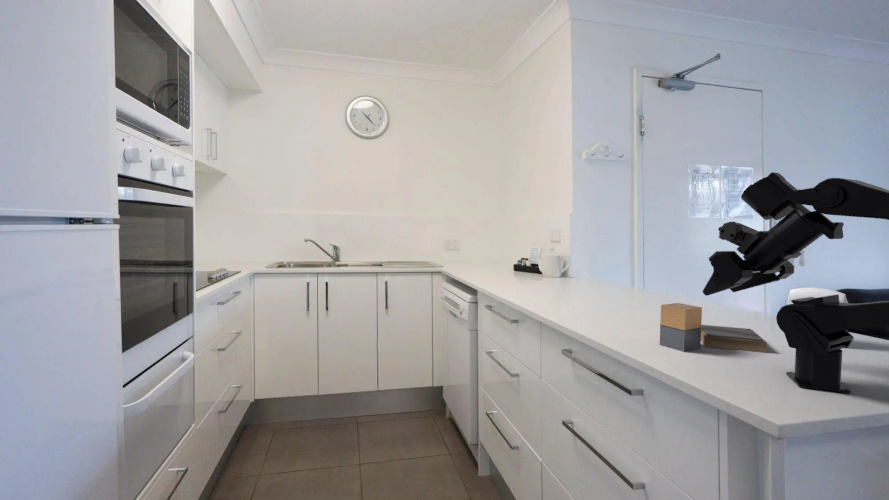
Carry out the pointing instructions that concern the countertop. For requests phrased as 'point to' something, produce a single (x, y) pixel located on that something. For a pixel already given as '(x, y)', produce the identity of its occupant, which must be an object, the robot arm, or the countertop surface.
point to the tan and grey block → (680, 326)
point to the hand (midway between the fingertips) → (718, 291)
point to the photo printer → (814, 294)
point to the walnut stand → (732, 338)
